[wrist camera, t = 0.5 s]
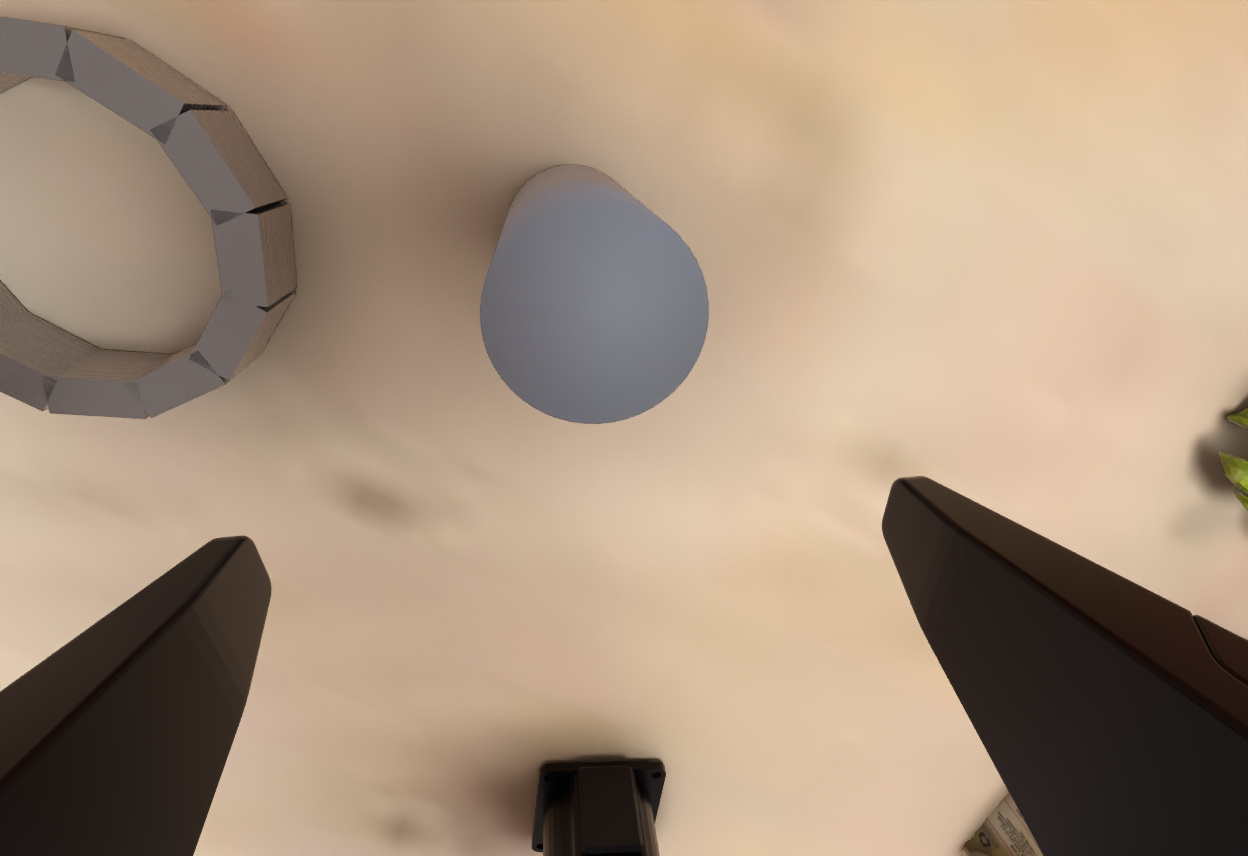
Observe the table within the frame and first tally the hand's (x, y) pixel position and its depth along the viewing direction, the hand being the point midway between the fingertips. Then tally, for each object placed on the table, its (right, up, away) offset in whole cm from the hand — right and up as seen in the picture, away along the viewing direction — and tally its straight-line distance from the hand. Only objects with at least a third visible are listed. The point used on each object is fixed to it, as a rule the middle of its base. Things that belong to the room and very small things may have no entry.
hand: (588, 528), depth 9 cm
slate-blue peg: (-1, +8, +12) cm, 15 cm away
